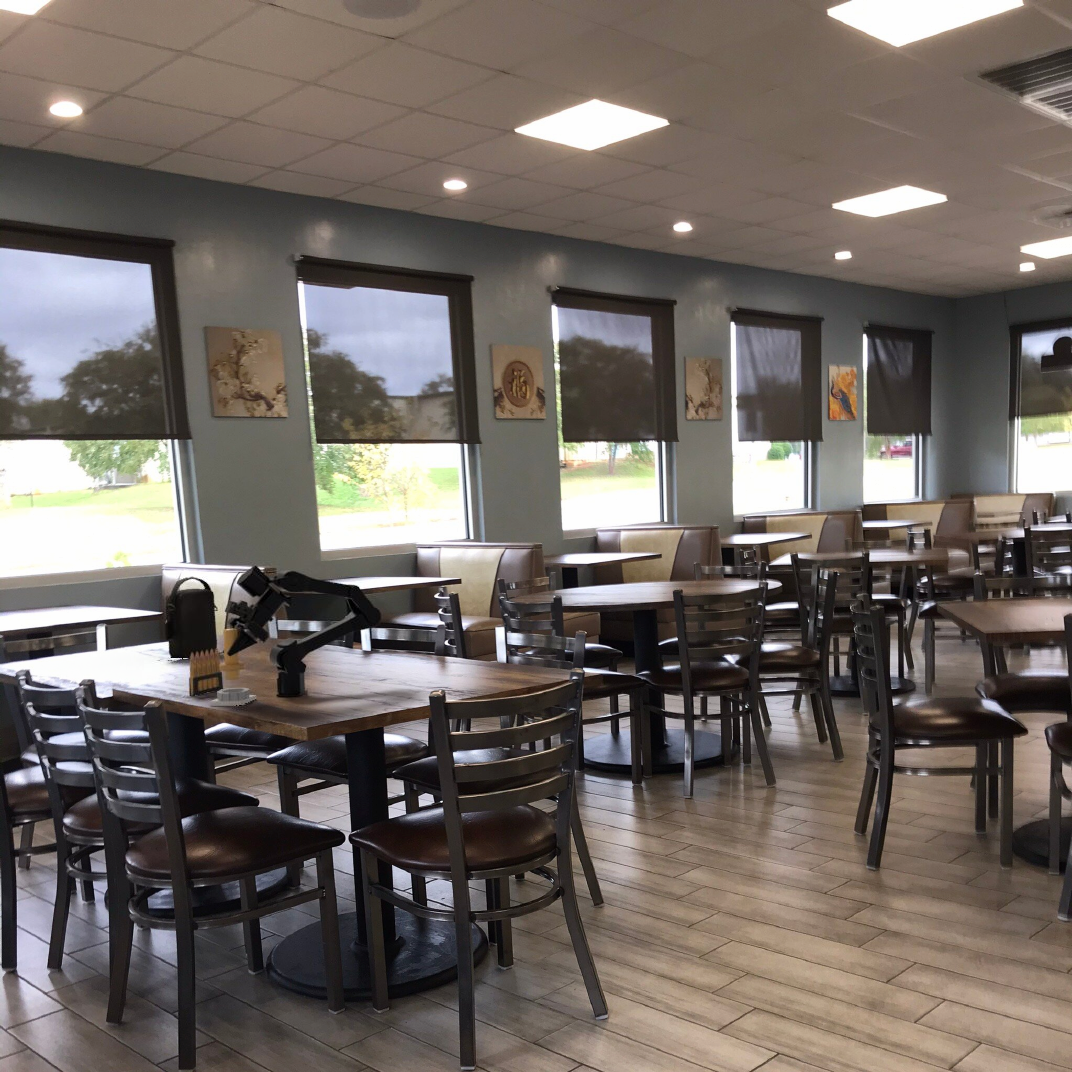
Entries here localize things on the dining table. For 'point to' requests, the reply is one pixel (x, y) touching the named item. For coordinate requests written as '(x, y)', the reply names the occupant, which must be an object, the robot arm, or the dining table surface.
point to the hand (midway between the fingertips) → (226, 654)
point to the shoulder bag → (190, 620)
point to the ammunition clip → (205, 673)
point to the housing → (232, 697)
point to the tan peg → (232, 661)
